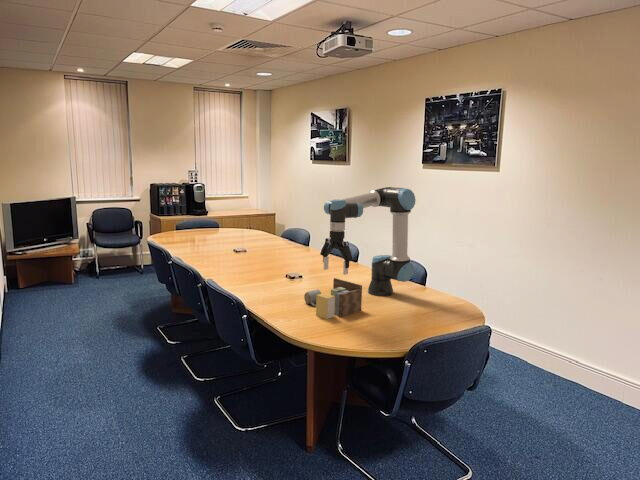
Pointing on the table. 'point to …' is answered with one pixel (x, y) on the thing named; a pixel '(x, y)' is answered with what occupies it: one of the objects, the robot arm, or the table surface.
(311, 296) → the ceramic mug
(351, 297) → the brown wooden box
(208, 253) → the table surface
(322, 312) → the ochre book
